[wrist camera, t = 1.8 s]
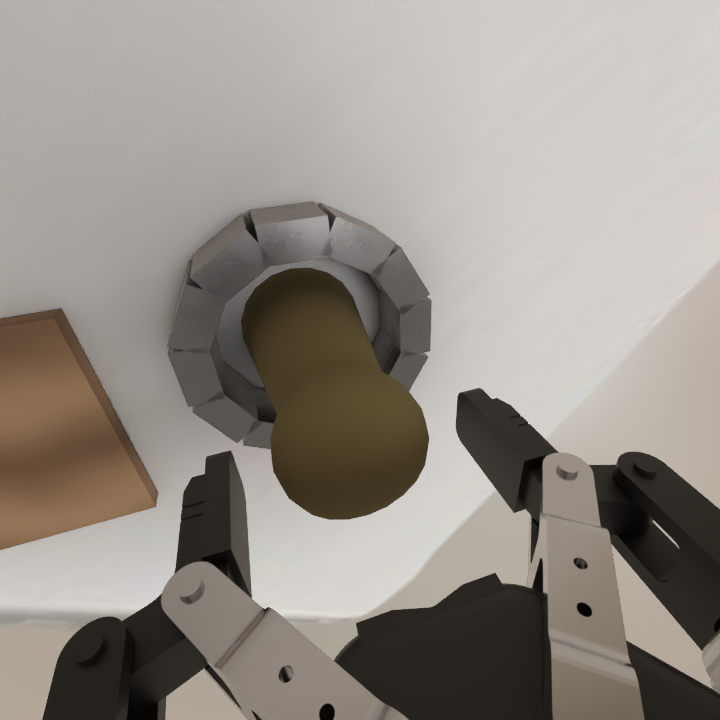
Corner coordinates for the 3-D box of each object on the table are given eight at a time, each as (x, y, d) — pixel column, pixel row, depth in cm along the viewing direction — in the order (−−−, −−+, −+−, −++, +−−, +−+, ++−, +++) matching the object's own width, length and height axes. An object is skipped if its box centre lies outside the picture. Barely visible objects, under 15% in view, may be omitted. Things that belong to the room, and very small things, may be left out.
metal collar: (138, 225, 16) (125, 244, 14) (405, 188, 19) (434, 199, 16) (215, 436, 23) (215, 475, 20) (407, 388, 25) (428, 418, 23)
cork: (299, 241, 19) (376, 357, 10) (378, 317, 22) (490, 456, 13) (215, 331, 20) (214, 512, 11) (303, 391, 23) (359, 567, 14)
